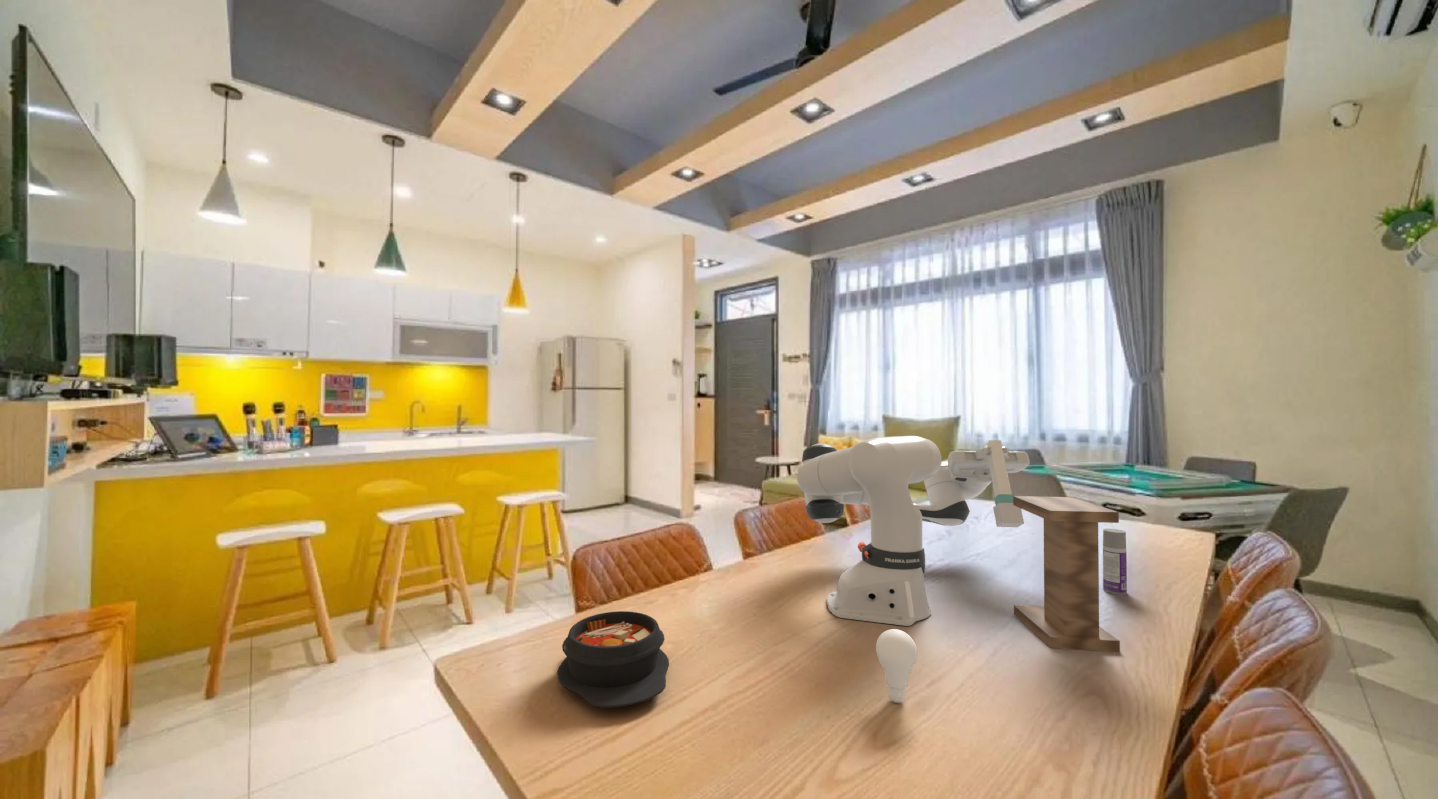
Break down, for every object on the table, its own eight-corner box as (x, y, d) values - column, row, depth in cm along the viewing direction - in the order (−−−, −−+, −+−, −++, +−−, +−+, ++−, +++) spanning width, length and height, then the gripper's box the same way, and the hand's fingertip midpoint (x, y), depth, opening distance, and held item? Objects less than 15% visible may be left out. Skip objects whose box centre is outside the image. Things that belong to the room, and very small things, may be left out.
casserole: (548, 656, 96) (548, 610, 96) (645, 637, 104) (645, 594, 104) (569, 733, 73) (569, 673, 73) (692, 702, 81) (692, 648, 81)
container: (1118, 588, 131) (1118, 528, 131) (1131, 595, 126) (1131, 533, 126) (1098, 587, 131) (1098, 528, 132) (1110, 594, 127) (1110, 532, 127)
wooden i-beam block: (1051, 648, 99) (1050, 510, 99) (1014, 614, 115) (1013, 496, 115) (1119, 651, 97) (1118, 512, 98) (1072, 616, 113) (1071, 497, 114)
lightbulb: (919, 696, 82) (918, 626, 83) (916, 717, 77) (915, 642, 77) (879, 687, 85) (878, 619, 85) (873, 707, 79) (873, 634, 80)
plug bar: (996, 526, 132) (1002, 522, 129) (981, 444, 143) (986, 438, 139) (1017, 527, 132) (1024, 523, 128) (1000, 444, 142) (1006, 439, 138)
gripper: (1020, 480, 147) (1041, 461, 135) (945, 479, 150) (959, 459, 138) (1015, 460, 150) (1035, 439, 139) (941, 459, 153) (955, 438, 141)
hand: (997, 449), depth 138 cm, fingers closed on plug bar, 3 cm apart
